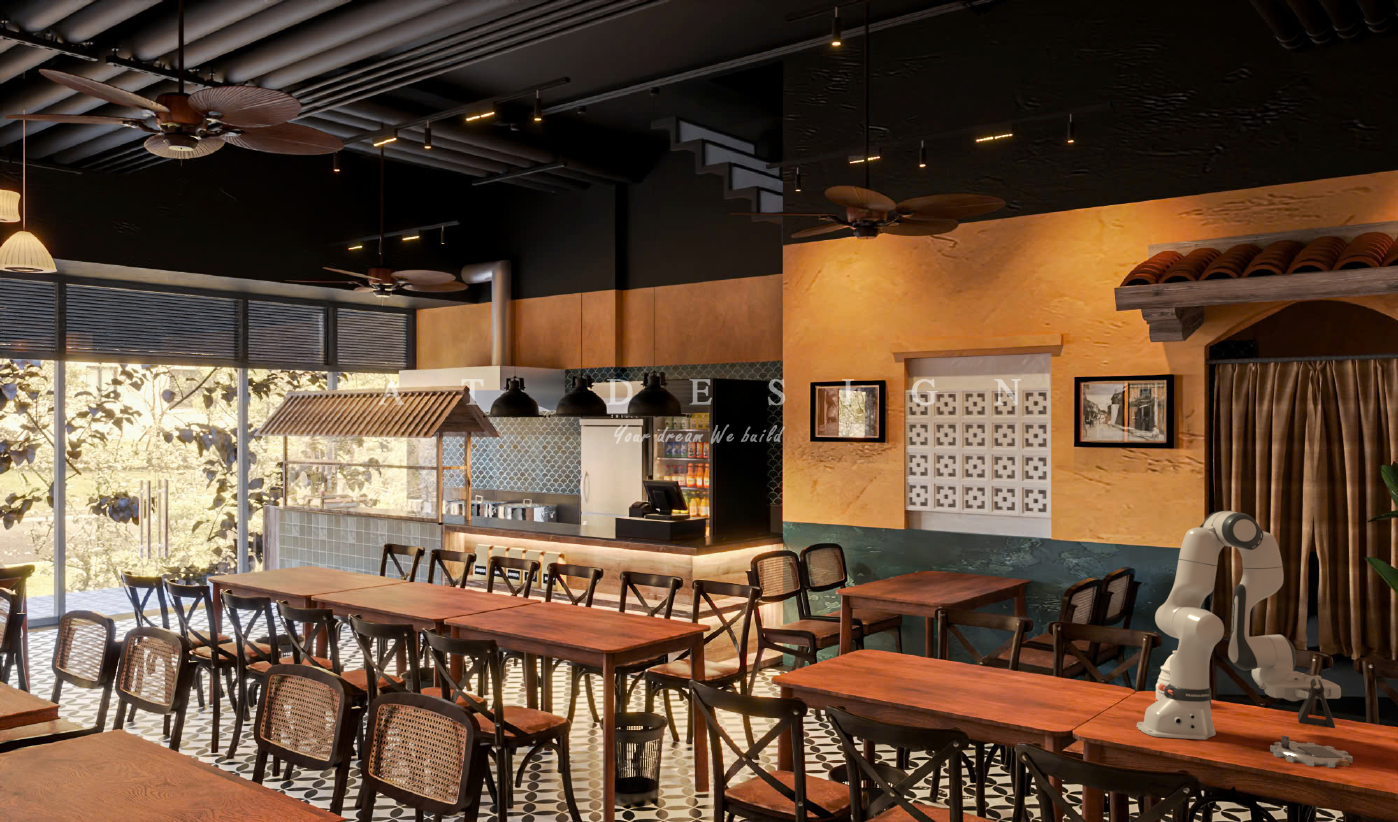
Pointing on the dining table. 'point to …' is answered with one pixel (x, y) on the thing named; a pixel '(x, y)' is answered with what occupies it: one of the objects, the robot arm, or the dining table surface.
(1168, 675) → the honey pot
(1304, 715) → the dark grey triangular bracket
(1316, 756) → the sprocket
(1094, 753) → the dining table surface
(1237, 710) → the dining table surface
